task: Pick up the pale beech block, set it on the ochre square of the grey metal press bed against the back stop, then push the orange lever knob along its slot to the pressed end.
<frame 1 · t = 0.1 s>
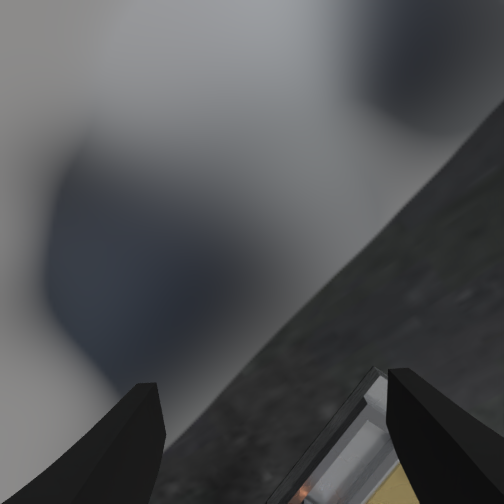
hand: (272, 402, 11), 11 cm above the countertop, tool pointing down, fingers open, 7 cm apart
press bed: (381, 476, 23), on the countertop
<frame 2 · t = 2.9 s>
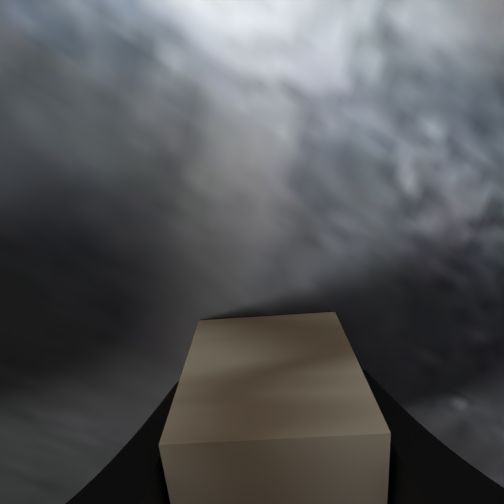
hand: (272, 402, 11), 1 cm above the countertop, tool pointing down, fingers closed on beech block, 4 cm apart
beech block: (270, 373, 12), on the countertop, touching gripper
when the fingers open (4 cm above the countertop, at t = 5.4 s): beech block stays where it is, resting on press bed.
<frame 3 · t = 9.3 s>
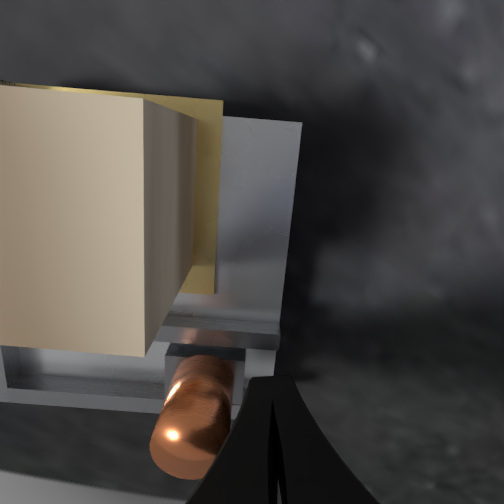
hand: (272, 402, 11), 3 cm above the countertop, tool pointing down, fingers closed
beech block: (121, 190, 11), point 1 cm above the countertop, touching press bed
lever: (199, 400, 11), point 3 cm above the countertop, slide at 1.1 cm, touching gripper
press bed: (122, 257, 13), on the countertop
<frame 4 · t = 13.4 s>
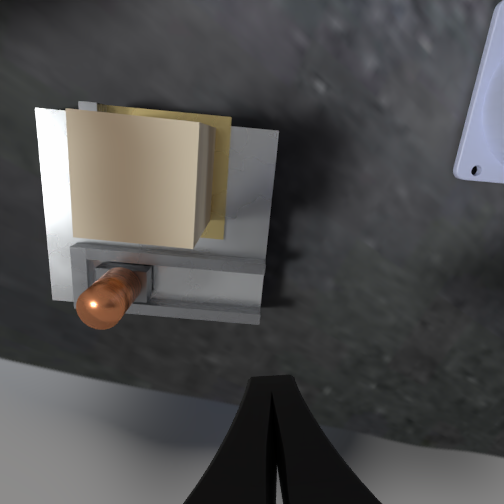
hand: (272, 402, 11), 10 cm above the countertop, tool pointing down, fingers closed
beech block: (167, 171, 17), point 1 cm above the countertop, touching press bed
lever: (114, 292, 17), point 3 cm above the countertop, slide at 6.0 cm
press bed: (162, 217, 19), on the countertop
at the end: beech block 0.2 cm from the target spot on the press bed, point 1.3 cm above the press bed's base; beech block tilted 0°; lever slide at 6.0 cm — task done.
